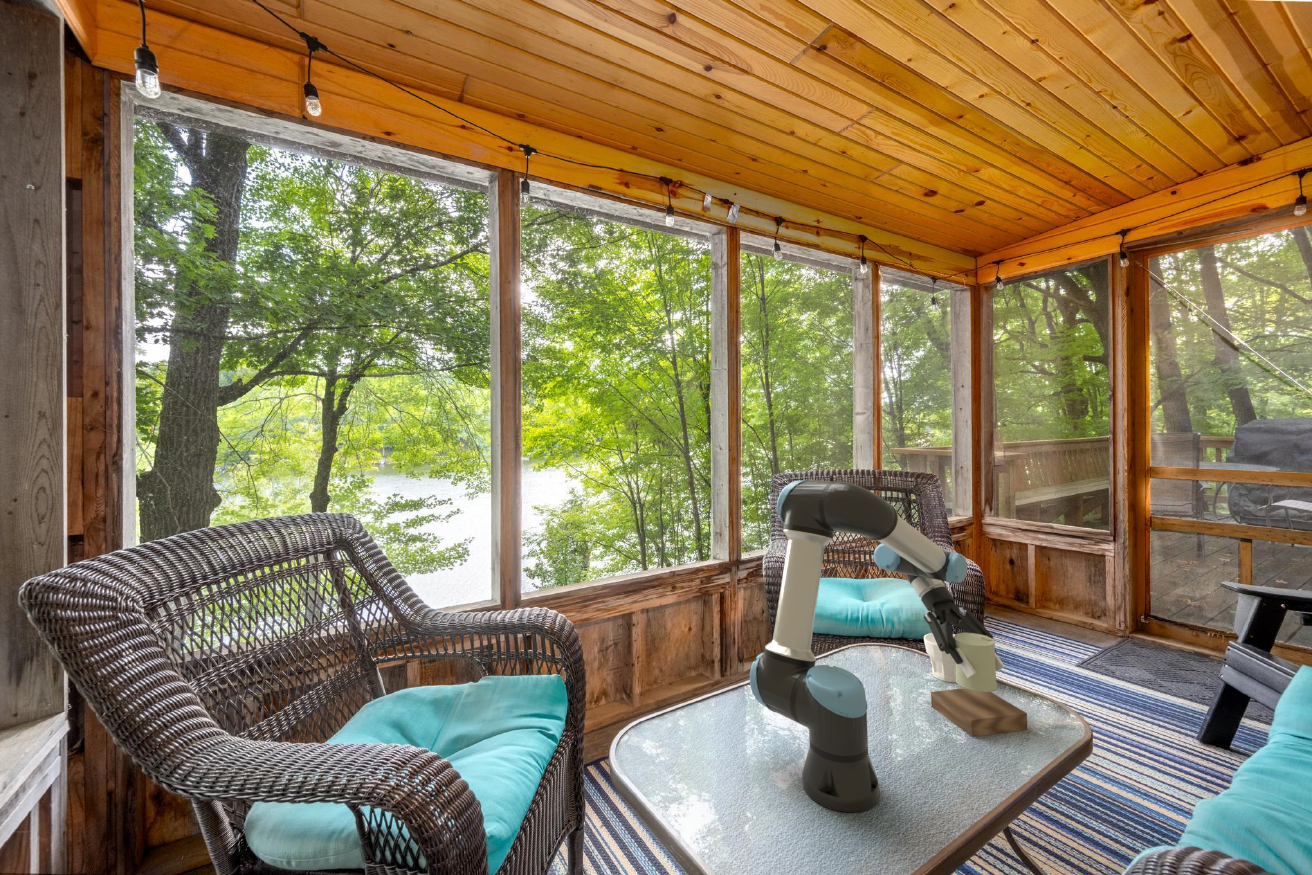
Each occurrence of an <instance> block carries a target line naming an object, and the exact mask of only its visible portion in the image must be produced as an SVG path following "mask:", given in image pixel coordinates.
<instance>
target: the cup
mask: <svg viewBox="0 0 1312 875" xmlns="http://www.w3.org/2000/svg"><path fill="white" fill-rule="evenodd" d="M954 635H956V634H955V633H953V637H954ZM923 642H924V647H925V652H926V653H927V654H928V656H929V658H930V659H929V660H930V662H931V667H932V668H931V669H932V676H933V677H934V678H935V679H937V680H939V681H942V682H947V683H956V680H955V679H956V663H955V661H954V659H953V658H952V656H951V654H950V653H949V654H946V653H945V651H943V652H942V651H940V649H939V647H938V645H937V643H936V640H935V638H934V636H933V633H932V632H929V633H927V634H925V635H923Z"/></svg>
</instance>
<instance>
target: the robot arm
mask: <svg viewBox="0 0 1312 875" xmlns="http://www.w3.org/2000/svg"><path fill="white" fill-rule="evenodd" d="M776 514H778V516H777V517H778V519H779V521H780V522H781V524H783V527H782V528H783V530H782V532H783V533H784V534H785V536H786V538H787V545H786V551H785V559H784V565H783V572H782V577H781V578H782V579H781V584H780V590H779V597H778V598H779V599H778V604H777V611H776V618H775V623H774V624H775V625H774V630H773V637H772V640H771V641H770V642H768V643H767V644H765V647H764V651H763V652H761V653H759V654H758V655H757V656H756V657H755V660H754V661H753V662H752V664H751V667H750V671H749V687H750V690H751V693H752V695H753V696H754V698H755V699H756V701H757V702H758V703H760V704H761V705H762V706H763V707H766V708H767V709H768V710H769V711H771V712H773V713H777V714H779V715H781V716H783V717H785V718H788V719H789V720H791V721H793V722H795V723H797V724H799V725H802V726H804V727H805V728H807V729H808V737H809V740H808V741H809V748H808V750H807V751H808V752H807V754H806V759H805V761H804V765H803V769H802V786H803V790H804V791H805V793H806V795H807V796H808V797H809V798H810V799H812V801H814V802H816V803H817V804H818V805H821V806H822V807H824V808H828V809H830V810H834V811H837V812H843V813H859V812H864V811H867V810H869V809H871V808H873V807H874V806H875V805H877V803H878V802H879V799H880V784H879V780H878V776H877V774H876V772H875V768H874V766H873V762H872V760H871V757H870V754H869V741H868V740H869V738H868V737H869V735H868V712H867V710H868V702H867V701H868V700H867V698H866V697H867V696H866V691H865V690H866V689H865V687H864V684H863V682H862V681H861V680H860V678H859V677H858V676H856V675H855V674H854V673H853V672H851V671H849V670H848V669H844V668H842V667H840V666H835V665H833V666H830V665H829V664H819V665H816V662H817V660H816V659H817V658H816V657H815V655H814V653H813V652H812V649H811V647H812V646H811V645H812V639H813V633H814V626H815V619H816V618H815V617H816V611H817V610H816V609H817V604H818V598H819V596H818V595H819V589H820V583H821V582H820V581H821V575H822V568H823V561H824V552H825V548H826V545H828V544H830V543H831V542H832V541H833V537H834V532H838V533H847V534H854V535H858V536H863V537H864V538H865V539H867V540H869V541H874V542H877V541H878V542H879V543H880V544H878V545H877V546H876V548H875V549H874V552H873V560H874V562H875V565H876V566H877V567H878V568H880V569H882V570H884V571H886V572H891V573H892V572H893V573H897V574H902V575H904V576H905V577H906V579H907V581H908V583H909V584H910V586H912V588H913V589H914V592H915V593H916V595H917V596H918V598H921V599H920V601H921V602H922V604H923V605H924V607H925V609H926V610H927V611H928V612H927V613H926V614H925V615H923V618H924V621H925V622H926V623H927V625H928V627H929V629H930V632H931V633H933V636H934V638H935V640H936V643H937V645H938V647H939V649H940V651H942V652H943V651H945V653H946V654H949V653H950V654H951V656H952V658H953V659H954V661H955V662H956V663H957V664H959V666H960V667H961V669H962V670H963V672H964V673H965V675H966V676H967V678H970V677H972V676H973V675H974V674H976V672H975V670H974V669H973V667H972V666H971V664H970V663H969V661H968V660H967V658H966V657H965V655H964V654H963V652H962V651H961V649H960V648H957V649H955V648H956V645H955V641H954V637H953V634H954V633H953V630H952V625H954V626H956V627H957V628H961V629H962V630H963V632H964V633H975V634H981V635H984V636H987V637H990V638H992V639H994V636H993V634H992V633H991V632H990V631H989V630H988V628H986V627H985V626H984V625H983V624H982V622H981V621H980V620H979V619H978V618H977V617H976V616H975V615H974V614H973V613H972V612H971V609H970V608H969V607H968V606H967V605H963V606H962V607H961V606H958V605H956V604H955V603H954V597H953V595H952V594H951V592H950V591H949V590H948V588H947V587H946V586H945V583H943V582H946V583H956V584H959V583H962V582H963V581H964V580H965V578H966V576H967V573H968V572H967V571H968V562H967V559H966V557H965V556H964V555H963V554H961V553H957V552H954V551H945V550H944V549H943V548H941V547H940V546H939V545H937V544H936V543H935V542H933V541H932V540H931V539H929V538H928V536H926V535H924V534H923V533H921V532H920V531H919V530H918V529H916V528H915V527H913V525H911V524H910V523H909V522H907V521H906V520H905V519H903V518H902V517H901V516H899V514H898V511H897V509H896V508H895V507H894V506H893V505H892V503H891V504H890V502H888V501H887V500H885V499H884V498H882V497H881V496H879V495H878V494H876V493H874V492H872V491H870V490H868V489H866V488H865V487H863V486H861V485H857V484H855V483H851V482H848V481H829V480H815V479H814V480H813V479H812V480H811V479H804V480H794V481H792V482H790V483H788V484H787V485H786V486H784V487H783V488H782V490H781V491H780V494H779V495H778V498H777V501H776ZM1005 667H1006V665H1005V664H1004V663H1003V661H1002V660H1001V658H1000V656H999V655H998V652H997V650H995V668H996V673H997V672H999V671H1001V670H1003V669H1005Z"/></svg>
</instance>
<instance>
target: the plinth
mask: <svg viewBox="0 0 1312 875" xmlns="http://www.w3.org/2000/svg"><path fill="white" fill-rule="evenodd" d="M930 702H931V703H930V705H931V708H932V709H933V710H935V711H936V712H938V713H939V714H940V715H942V716H943V717H945V718H946V719H947V720H948V721H949V722H952V723H953V724H954V725H955V726H957V727H958V728H959V729H960V730H962V731H963V732H965V733H966V734H968V735H969V736H970V737H972V738H973V737H982V736H988V735H989V736H990V735H996V734H997V735H998V734H1003V733H1004V734H1006V733H1013V732H1021V731H1028V729H1029V728H1028V713H1027V712H1026V711H1024V710H1023V709H1020V708H1019V707H1017V706H1016V705H1013V704H1012V703H1010V702H1008V701H1007V700H1005V699H1004V698H1003V697H1000V696H999V695H997V694H995V693H993V691H992V692H977V691H972V690H969V689H966V688H963V687H961V688H954V689H946V690H934V691H930Z"/></svg>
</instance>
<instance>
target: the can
mask: <svg viewBox="0 0 1312 875" xmlns="http://www.w3.org/2000/svg"><path fill="white" fill-rule="evenodd" d="M954 641H955V645H956V648H955V649H957V648H960V649H961V651H962V652H963V654H964V655H965V657H966V658H967V660H968V661H969V663H970V664H971V666H972V667H973V669H974V670H975V672H976V674H974V675H973V676H972V677H970V678H967V676H966V675H965V673H964V672H963V670H962V669H961V667H960V666H959V664H957V663H956V662H955V663H956V679H955V680H956V682H955V683H956V684H957V685H958V686H960V687H961V688H966V689H969V690H972V691H977V692H992V693H993V692H995V691H996V690H997V689H998V685H997V672H996V668H995V651H996V648H995V646H996V641H995V640H994V638H990V637H987V636H984V635H981V634H975V633H966V632H959V633H956V634H955V635H954Z"/></svg>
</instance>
